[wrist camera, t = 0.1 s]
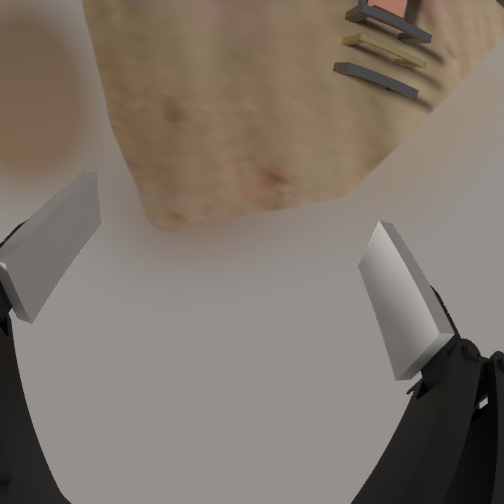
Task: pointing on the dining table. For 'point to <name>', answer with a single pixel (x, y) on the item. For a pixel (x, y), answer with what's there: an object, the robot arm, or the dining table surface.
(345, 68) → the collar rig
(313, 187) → the dining table surface
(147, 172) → the dining table surface
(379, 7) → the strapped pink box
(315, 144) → the dining table surface
